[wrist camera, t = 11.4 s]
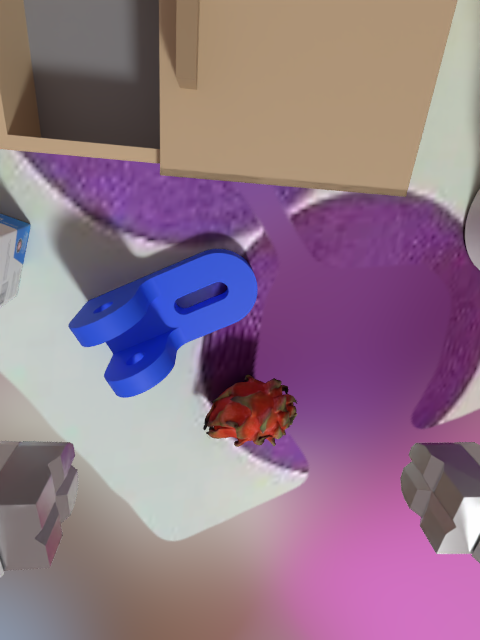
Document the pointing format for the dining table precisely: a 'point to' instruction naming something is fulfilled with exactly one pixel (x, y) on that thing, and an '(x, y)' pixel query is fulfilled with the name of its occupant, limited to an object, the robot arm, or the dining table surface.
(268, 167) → the lid
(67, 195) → the dining table surface
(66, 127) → the mailer box
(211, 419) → the dragon fruit
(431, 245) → the dining table surface
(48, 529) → the robot arm
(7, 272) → the ink box
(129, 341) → the bracket
